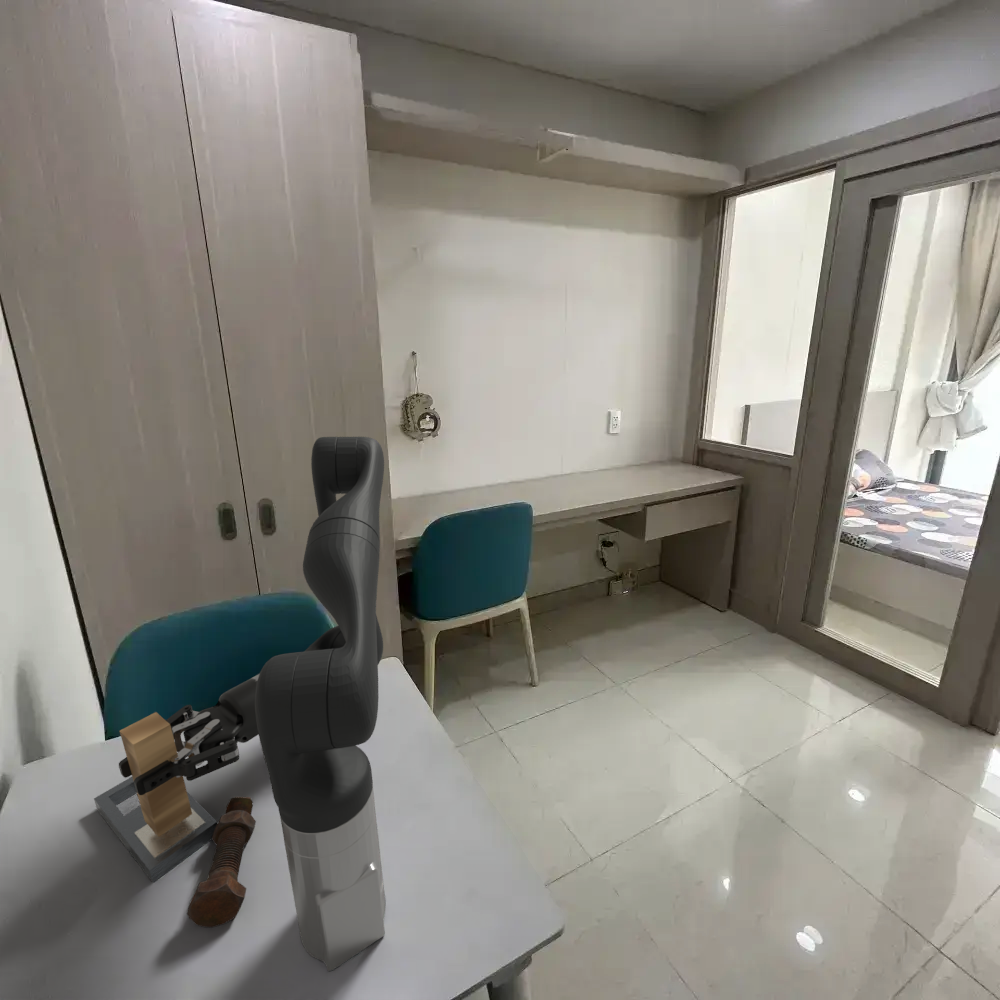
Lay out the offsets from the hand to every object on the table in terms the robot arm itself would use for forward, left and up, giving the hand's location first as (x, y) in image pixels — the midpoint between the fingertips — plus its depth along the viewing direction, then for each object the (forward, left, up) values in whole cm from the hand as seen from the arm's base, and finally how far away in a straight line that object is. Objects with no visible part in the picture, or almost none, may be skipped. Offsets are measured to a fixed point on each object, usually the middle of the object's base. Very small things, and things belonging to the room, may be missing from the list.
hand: (129, 778), depth 62 cm
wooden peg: (+1, -3, -8) cm, 9 cm away
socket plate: (+6, -1, -12) cm, 13 cm away
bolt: (-7, -9, -13) cm, 17 cm away
